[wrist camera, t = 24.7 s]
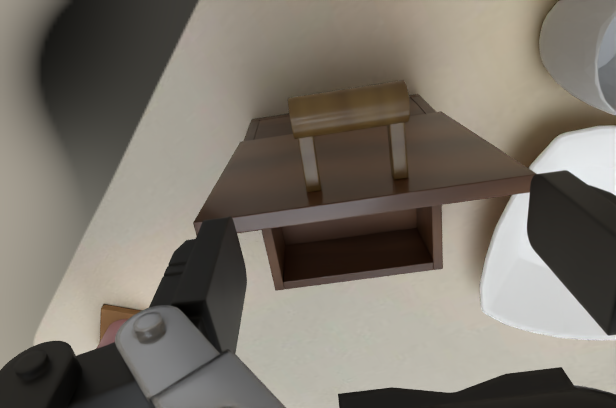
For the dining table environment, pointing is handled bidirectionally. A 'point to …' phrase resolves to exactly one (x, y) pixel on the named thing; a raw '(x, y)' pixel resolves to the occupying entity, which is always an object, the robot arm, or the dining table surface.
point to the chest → (351, 234)
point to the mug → (582, 50)
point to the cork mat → (113, 316)
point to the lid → (358, 163)
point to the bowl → (525, 261)
